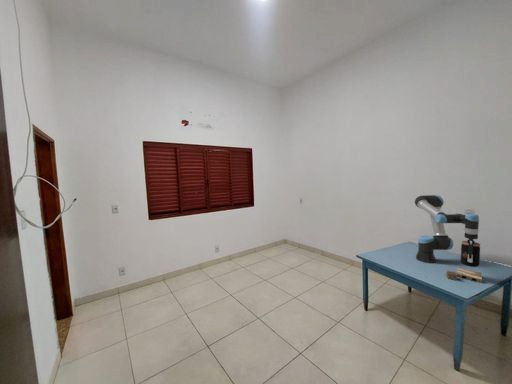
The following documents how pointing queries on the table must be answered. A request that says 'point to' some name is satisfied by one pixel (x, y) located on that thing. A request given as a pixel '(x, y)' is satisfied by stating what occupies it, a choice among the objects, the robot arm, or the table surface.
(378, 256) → the table surface
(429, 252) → the robot arm
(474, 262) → the coffee jar
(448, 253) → the table surface
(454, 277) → the cargo block
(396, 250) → the table surface
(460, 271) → the pallet dock
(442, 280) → the table surface
